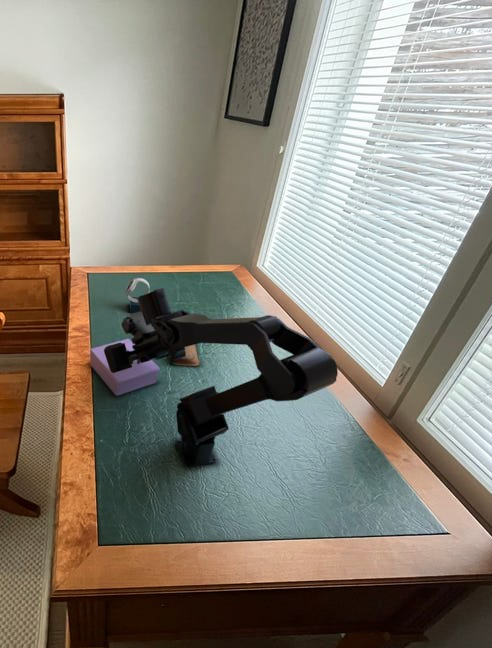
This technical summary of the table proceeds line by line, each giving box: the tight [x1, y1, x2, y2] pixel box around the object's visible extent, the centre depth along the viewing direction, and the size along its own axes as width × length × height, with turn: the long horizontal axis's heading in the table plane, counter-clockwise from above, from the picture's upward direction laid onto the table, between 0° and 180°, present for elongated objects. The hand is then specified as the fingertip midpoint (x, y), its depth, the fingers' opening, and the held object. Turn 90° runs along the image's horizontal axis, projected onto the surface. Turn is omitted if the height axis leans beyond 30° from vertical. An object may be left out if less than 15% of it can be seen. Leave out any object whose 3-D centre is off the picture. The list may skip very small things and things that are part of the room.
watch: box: [125, 277, 151, 314], centre depth 128 cm, size 6×8×11 cm
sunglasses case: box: [170, 344, 200, 367], centre depth 112 cm, size 18×7×7 cm, turn 175°
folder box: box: [89, 351, 159, 397], centre depth 101 cm, size 15×12×4 cm
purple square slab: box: [89, 338, 161, 384], centre depth 98 cm, size 15×12×5 cm
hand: (128, 357), depth 97 cm, fingers closed on purple square slab, 5 cm apart
